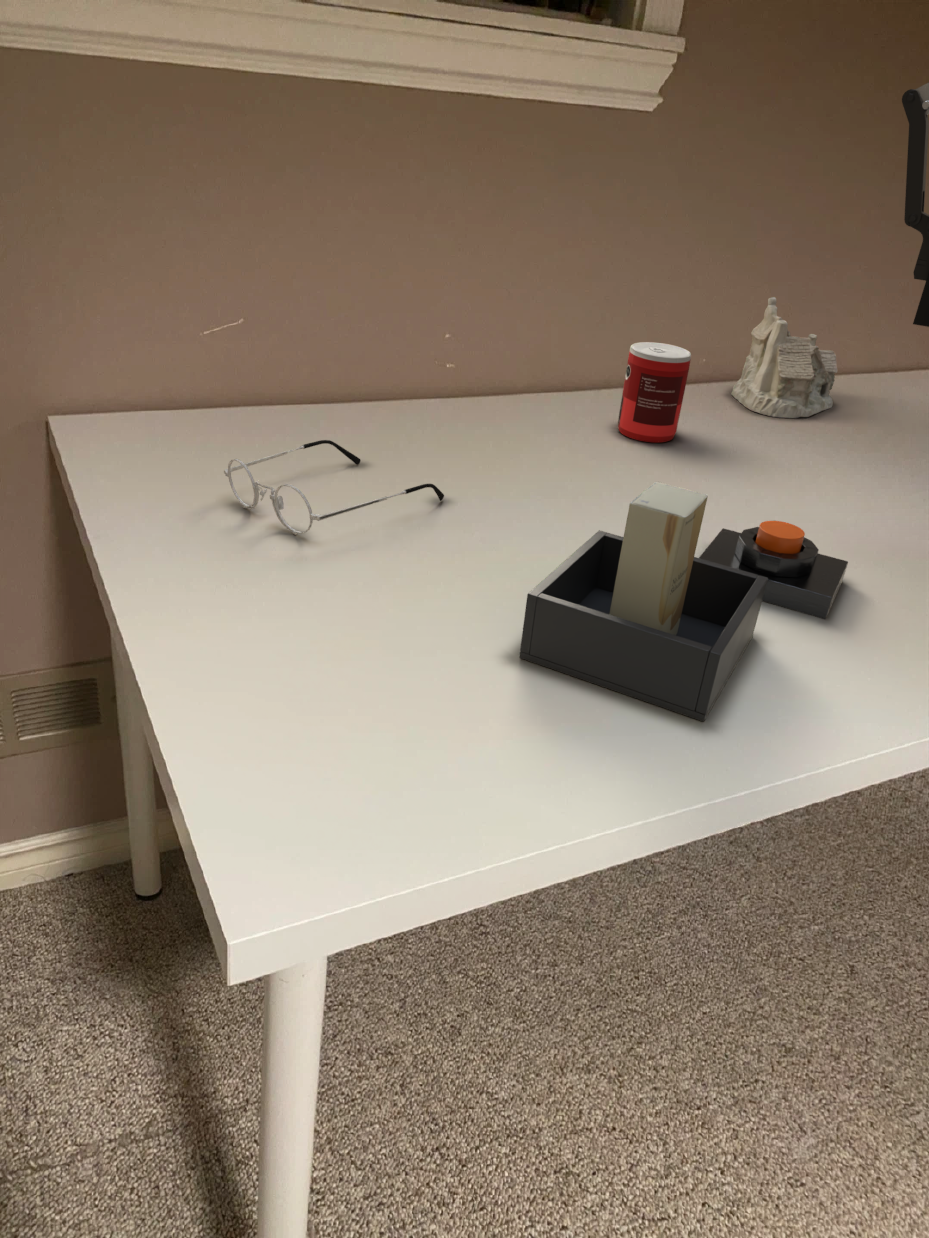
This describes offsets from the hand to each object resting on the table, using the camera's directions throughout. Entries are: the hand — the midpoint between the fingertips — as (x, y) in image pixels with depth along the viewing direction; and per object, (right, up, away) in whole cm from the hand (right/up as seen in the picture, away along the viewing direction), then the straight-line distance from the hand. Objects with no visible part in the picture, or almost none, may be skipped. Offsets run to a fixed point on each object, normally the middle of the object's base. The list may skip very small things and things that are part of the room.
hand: (923, 323), depth 79 cm
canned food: (-14, 0, +46) cm, 48 cm away
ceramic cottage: (+10, +8, +65) cm, 66 cm away
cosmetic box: (-24, -27, -4) cm, 36 cm away
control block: (-10, -21, +9) cm, 25 cm away
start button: (-10, -18, +7) cm, 22 cm away
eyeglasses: (-52, -13, +17) cm, 56 cm away
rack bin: (-24, -27, -4) cm, 37 cm away
